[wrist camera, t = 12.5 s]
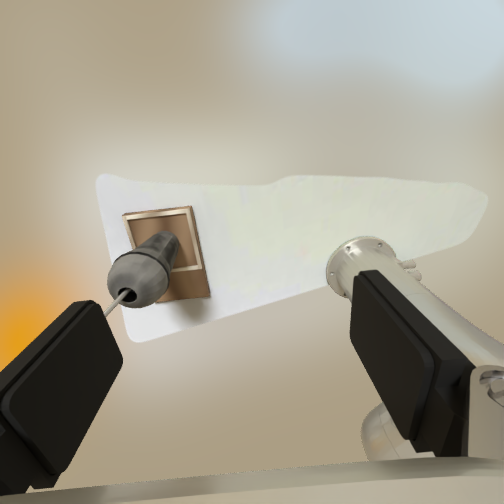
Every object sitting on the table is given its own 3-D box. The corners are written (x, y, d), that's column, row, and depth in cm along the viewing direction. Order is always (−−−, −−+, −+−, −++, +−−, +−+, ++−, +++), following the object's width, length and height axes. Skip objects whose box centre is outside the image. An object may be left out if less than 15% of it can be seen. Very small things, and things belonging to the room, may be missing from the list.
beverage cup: (193, 258, 44) (156, 344, 25) (152, 266, 44) (88, 355, 26) (180, 218, 41) (129, 284, 22) (137, 227, 41) (52, 297, 23)
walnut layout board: (191, 205, 41) (189, 208, 40) (209, 292, 48) (208, 297, 47) (125, 213, 41) (121, 216, 40) (153, 298, 48) (150, 303, 47)
